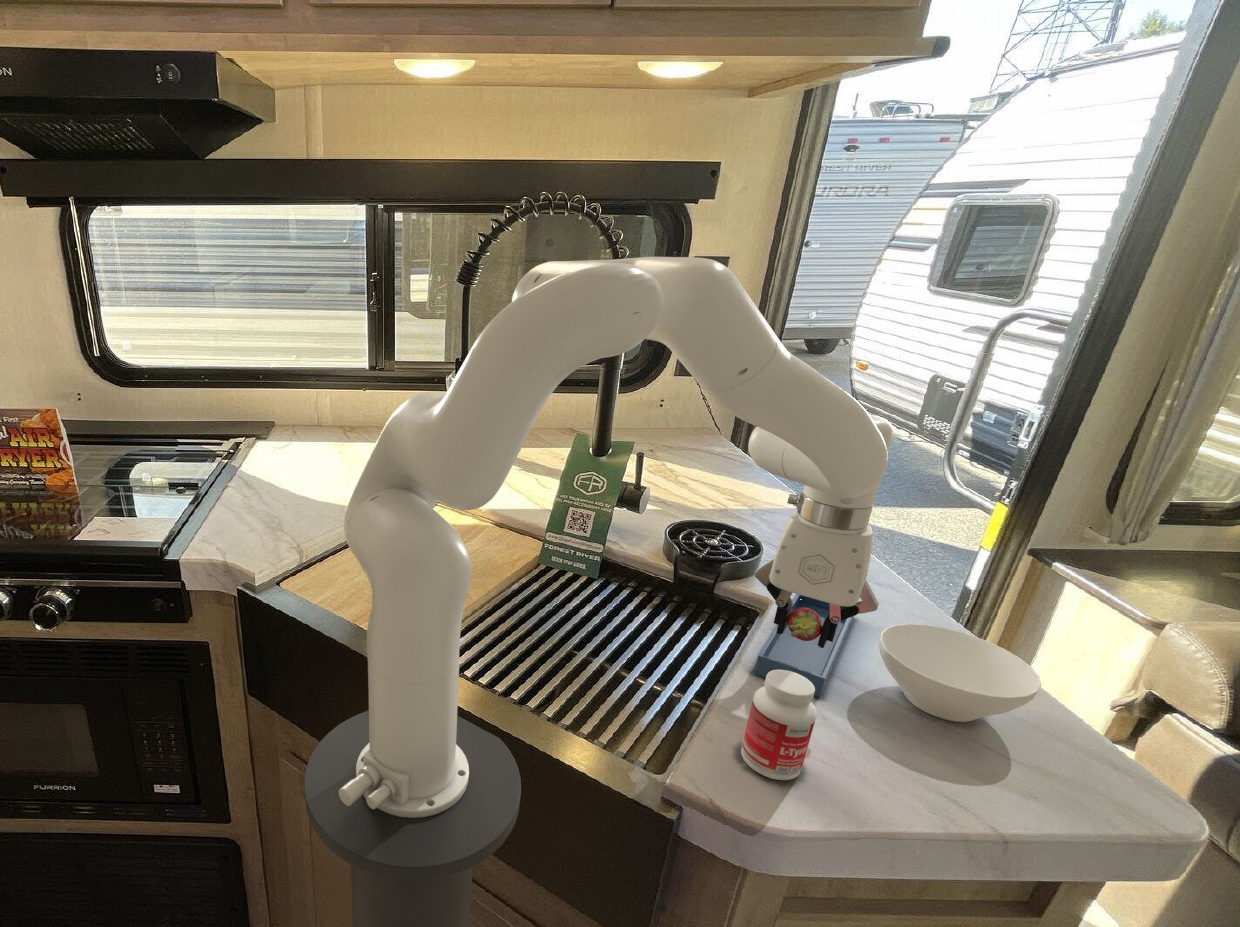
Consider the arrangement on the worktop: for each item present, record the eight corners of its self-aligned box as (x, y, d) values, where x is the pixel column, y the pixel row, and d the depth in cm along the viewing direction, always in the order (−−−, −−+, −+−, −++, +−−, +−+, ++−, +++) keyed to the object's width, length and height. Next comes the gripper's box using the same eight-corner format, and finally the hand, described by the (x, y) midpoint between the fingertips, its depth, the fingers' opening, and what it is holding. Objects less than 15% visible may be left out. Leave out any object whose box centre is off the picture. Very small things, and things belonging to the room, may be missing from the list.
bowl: (988, 764, 75) (1008, 714, 72) (841, 689, 88) (855, 644, 85) (1043, 717, 83) (1063, 670, 80) (901, 654, 95) (915, 612, 93)
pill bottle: (776, 789, 71) (798, 706, 67) (728, 753, 77) (746, 674, 73) (812, 771, 74) (836, 689, 70) (764, 737, 79) (783, 659, 75)
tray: (819, 697, 86) (825, 678, 85) (753, 673, 91) (758, 655, 90) (853, 619, 105) (857, 602, 103) (796, 602, 109) (800, 586, 108)
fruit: (822, 633, 90) (831, 601, 89) (815, 652, 86) (824, 619, 84) (788, 622, 93) (795, 591, 91) (779, 641, 88) (787, 608, 87)
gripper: (753, 504, 85) (727, 626, 92) (912, 539, 75) (871, 673, 82) (768, 489, 91) (743, 605, 97) (919, 520, 80) (879, 647, 87)
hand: (802, 635), depth 89 cm, fingers closed on fruit, 4 cm apart
